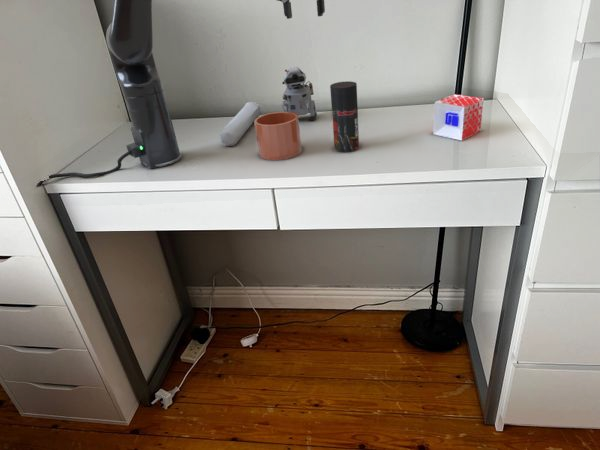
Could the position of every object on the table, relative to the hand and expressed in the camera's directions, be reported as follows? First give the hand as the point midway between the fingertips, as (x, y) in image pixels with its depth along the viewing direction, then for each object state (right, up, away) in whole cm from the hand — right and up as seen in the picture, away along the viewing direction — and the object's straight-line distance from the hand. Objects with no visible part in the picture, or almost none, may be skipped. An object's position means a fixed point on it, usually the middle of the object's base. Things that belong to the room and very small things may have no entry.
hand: (304, 17), depth 115 cm
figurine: (-1, -24, +15) cm, 28 cm away
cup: (-6, -35, -5) cm, 36 cm away
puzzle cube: (+37, -31, -6) cm, 49 cm away
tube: (-18, -27, +12) cm, 35 cm away
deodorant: (+10, -35, -7) cm, 37 cm away
